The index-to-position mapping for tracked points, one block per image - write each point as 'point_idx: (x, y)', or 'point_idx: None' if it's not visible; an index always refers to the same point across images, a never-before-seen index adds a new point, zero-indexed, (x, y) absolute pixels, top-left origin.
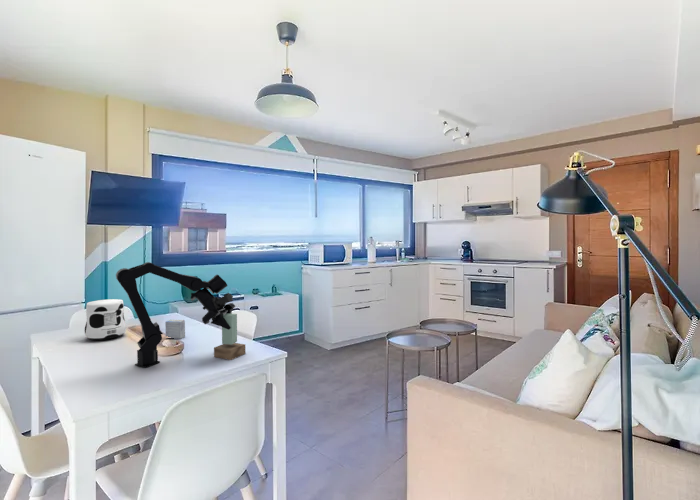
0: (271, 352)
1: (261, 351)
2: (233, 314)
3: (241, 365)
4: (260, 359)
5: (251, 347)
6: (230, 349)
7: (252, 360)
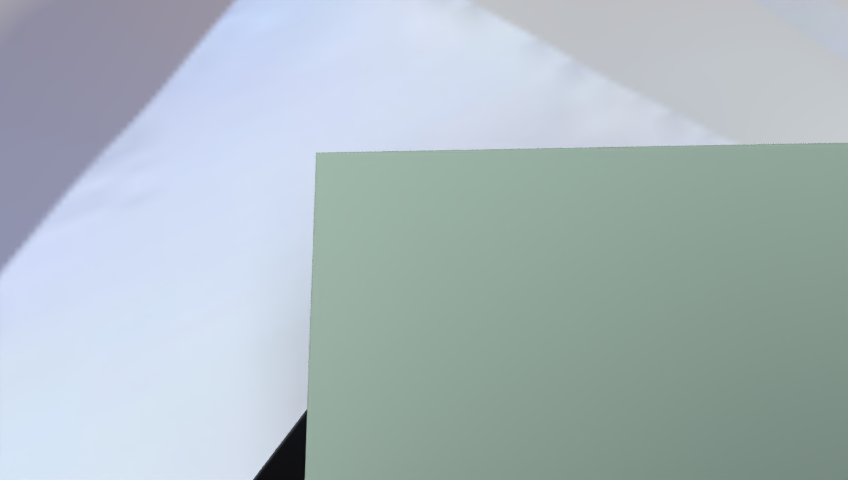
0: (304, 31)
1: (284, 133)
2: (624, 290)
3: (717, 143)
4: (520, 50)
5: (149, 299)
6: None
7: (564, 106)
